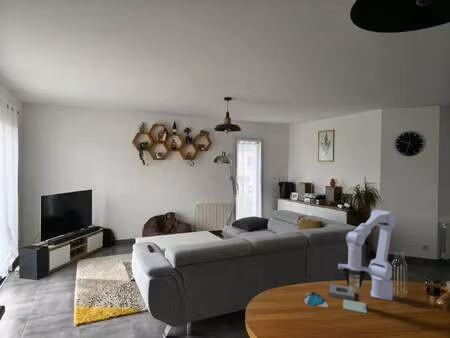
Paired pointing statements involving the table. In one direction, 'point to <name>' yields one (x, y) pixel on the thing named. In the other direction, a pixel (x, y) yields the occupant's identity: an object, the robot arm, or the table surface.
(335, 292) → the pocket holder
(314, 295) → the decorative butterfly
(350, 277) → the maple block
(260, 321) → the table surface
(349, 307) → the rubber mat
